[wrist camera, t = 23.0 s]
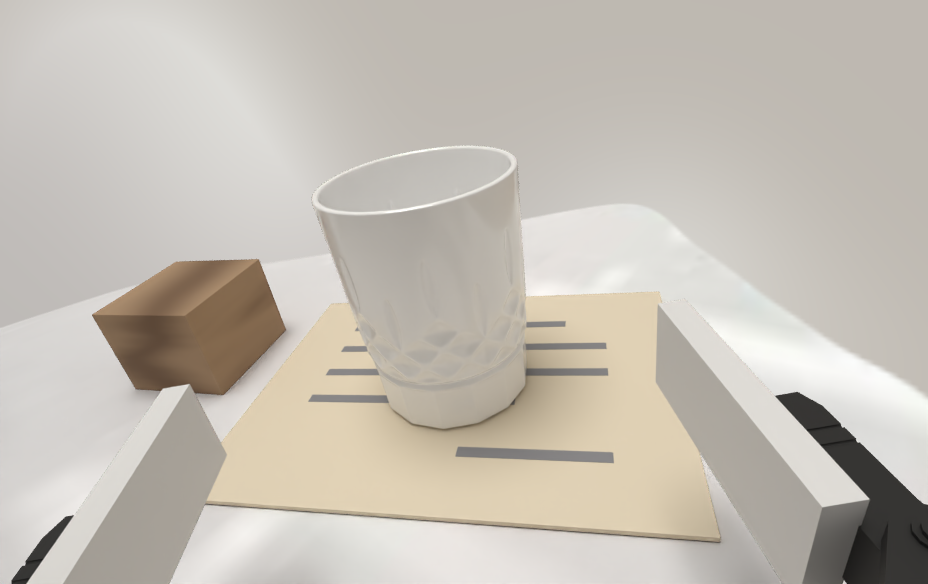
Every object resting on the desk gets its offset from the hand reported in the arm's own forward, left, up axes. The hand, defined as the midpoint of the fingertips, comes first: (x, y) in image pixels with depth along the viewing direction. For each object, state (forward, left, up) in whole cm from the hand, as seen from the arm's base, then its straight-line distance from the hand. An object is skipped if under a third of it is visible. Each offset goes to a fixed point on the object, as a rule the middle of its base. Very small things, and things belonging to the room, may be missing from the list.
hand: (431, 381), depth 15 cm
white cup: (-2, +8, -6) cm, 10 cm away
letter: (-2, +8, -6) cm, 10 cm away
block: (-17, +10, -7) cm, 21 cm away
